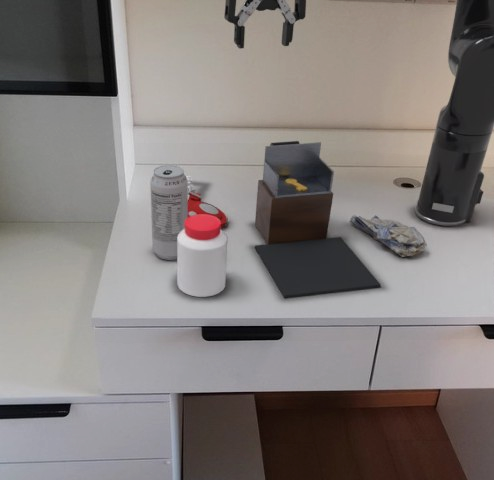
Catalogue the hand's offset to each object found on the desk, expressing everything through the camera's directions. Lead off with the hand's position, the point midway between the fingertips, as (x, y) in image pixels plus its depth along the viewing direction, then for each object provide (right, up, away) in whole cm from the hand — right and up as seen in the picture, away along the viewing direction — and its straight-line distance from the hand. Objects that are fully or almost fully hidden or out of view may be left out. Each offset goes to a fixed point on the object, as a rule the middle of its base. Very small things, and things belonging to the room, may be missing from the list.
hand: (263, 46), depth 112 cm
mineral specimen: (+22, -36, -1) cm, 42 cm away
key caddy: (+5, -25, -3) cm, 26 cm away
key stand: (+5, -34, +1) cm, 34 cm away
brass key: (+5, -26, -5) cm, 27 cm away
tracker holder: (-11, -31, +5) cm, 33 cm away
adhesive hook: (-14, -24, +15) cm, 32 cm away
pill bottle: (-12, -44, -13) cm, 47 cm away
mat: (+7, -41, -9) cm, 42 cm away
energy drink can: (-17, -38, -5) cm, 42 cm away
